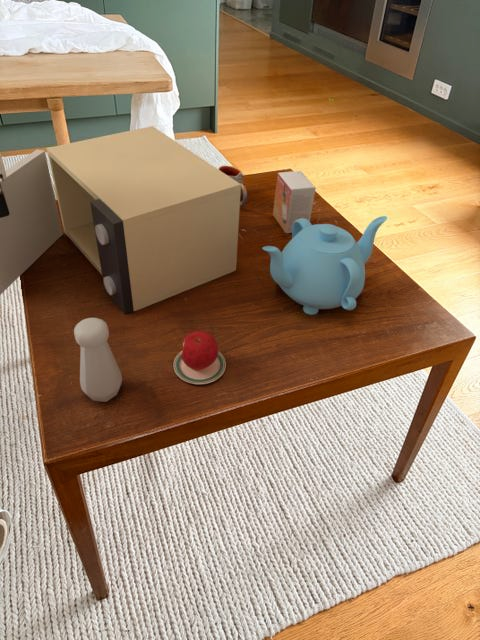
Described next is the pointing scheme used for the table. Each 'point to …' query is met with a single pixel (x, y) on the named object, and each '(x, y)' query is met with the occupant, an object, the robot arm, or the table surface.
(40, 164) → the microwave door
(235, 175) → the mug
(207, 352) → the apple
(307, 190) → the small box
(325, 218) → the table surface
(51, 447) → the table surface
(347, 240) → the teapot
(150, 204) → the microwave
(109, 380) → the salt shaker
